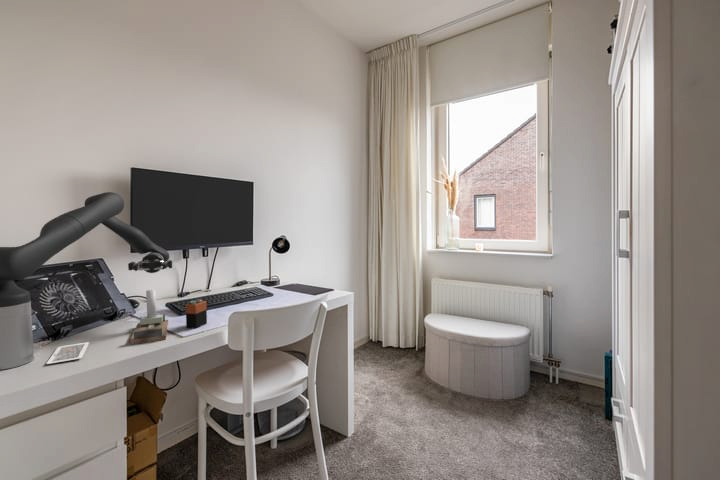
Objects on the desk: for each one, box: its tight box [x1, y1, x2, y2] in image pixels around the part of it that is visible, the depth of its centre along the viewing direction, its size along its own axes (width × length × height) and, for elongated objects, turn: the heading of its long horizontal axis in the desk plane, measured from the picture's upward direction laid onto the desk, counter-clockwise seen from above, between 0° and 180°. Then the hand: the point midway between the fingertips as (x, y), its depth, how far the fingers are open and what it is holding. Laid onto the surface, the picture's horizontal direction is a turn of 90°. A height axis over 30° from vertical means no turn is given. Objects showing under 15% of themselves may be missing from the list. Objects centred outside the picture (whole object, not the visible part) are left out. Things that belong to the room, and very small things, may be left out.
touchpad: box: [45, 341, 90, 365], centre depth 103 cm, size 8×15×2 cm, turn 32°
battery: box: [185, 298, 208, 329], centre depth 130 cm, size 4×7×10 cm, turn 168°
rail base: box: [130, 313, 169, 345], centre depth 122 cm, size 10×20×4 cm, turn 28°
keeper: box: [139, 289, 163, 325], centre depth 127 cm, size 7×4×12 cm, turn 118°
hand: (149, 267), depth 124 cm, fingers open, 8 cm apart
